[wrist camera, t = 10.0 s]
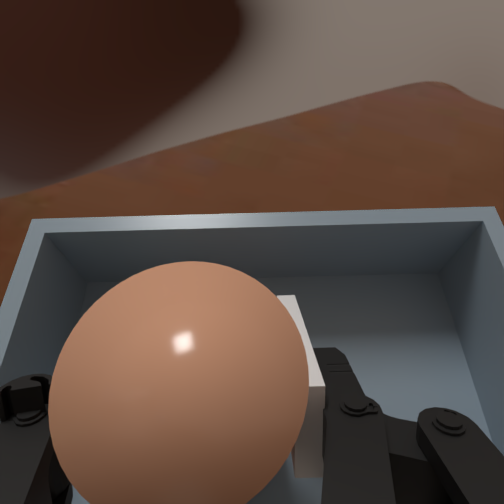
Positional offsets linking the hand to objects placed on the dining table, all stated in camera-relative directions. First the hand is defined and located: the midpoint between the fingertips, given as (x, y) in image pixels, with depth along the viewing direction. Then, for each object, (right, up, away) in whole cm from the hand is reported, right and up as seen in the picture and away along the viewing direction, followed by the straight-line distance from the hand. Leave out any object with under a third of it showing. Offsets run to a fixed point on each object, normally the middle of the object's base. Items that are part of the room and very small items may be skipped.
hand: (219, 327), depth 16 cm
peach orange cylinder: (0, -5, +1) cm, 5 cm away
